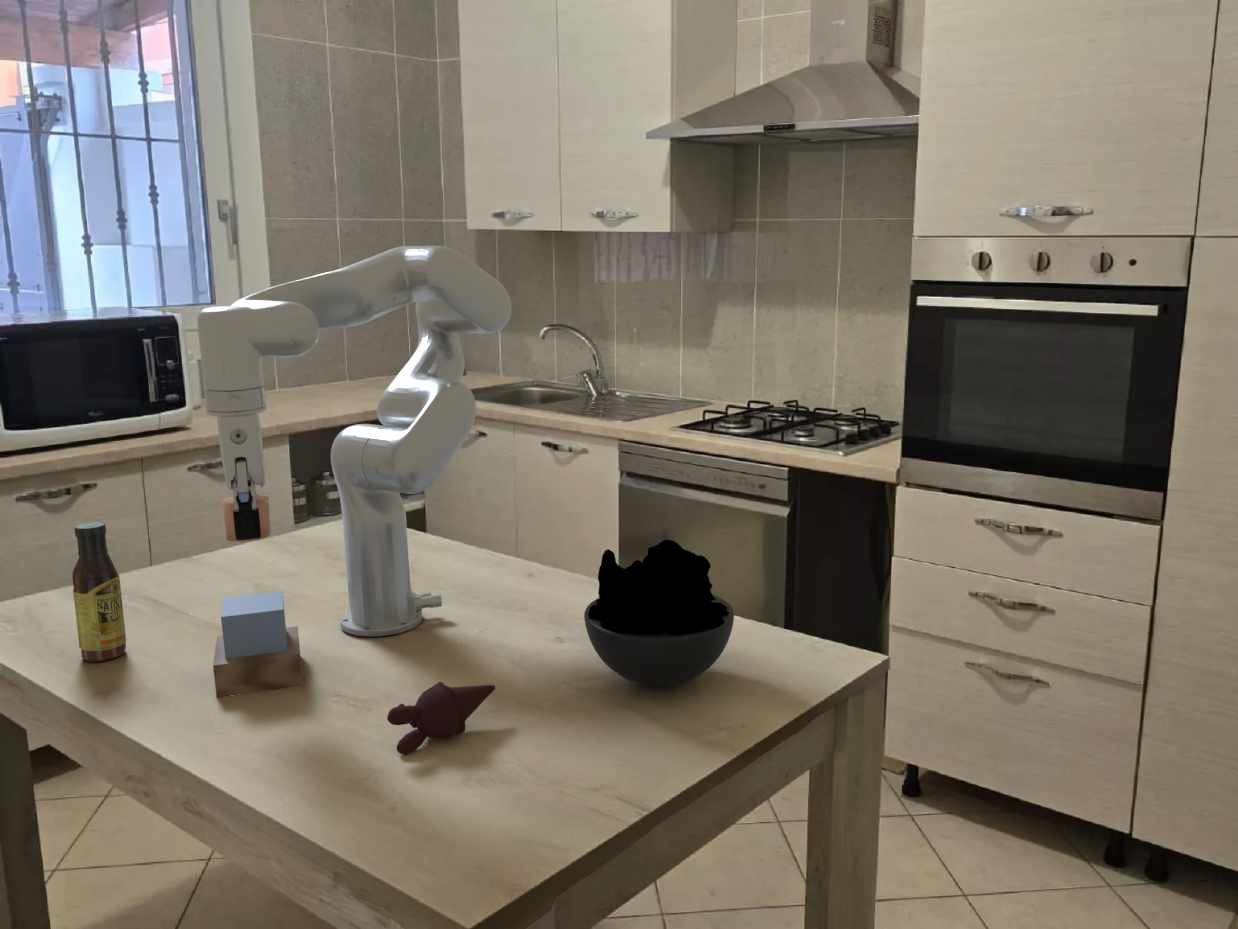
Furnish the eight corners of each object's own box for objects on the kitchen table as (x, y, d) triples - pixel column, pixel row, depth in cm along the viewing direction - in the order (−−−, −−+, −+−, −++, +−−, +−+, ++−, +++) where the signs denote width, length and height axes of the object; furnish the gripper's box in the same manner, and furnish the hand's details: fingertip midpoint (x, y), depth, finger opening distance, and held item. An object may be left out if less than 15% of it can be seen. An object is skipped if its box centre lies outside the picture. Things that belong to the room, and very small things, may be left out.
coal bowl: (748, 661, 152) (749, 533, 148) (711, 722, 134) (711, 578, 130) (615, 645, 159) (613, 522, 155) (563, 701, 141) (558, 564, 137)
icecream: (471, 659, 139) (369, 705, 130) (503, 661, 134) (400, 709, 124) (485, 709, 140) (385, 759, 130) (518, 714, 134) (416, 766, 125)
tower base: (300, 658, 158) (297, 626, 157) (302, 688, 147) (299, 654, 146) (220, 669, 155) (217, 636, 153) (216, 700, 144) (213, 665, 143)
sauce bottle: (109, 665, 156) (91, 532, 151) (71, 662, 157) (52, 531, 152) (138, 647, 162) (121, 520, 157) (101, 645, 163) (84, 518, 159)
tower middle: (286, 630, 155) (282, 590, 154) (287, 650, 148) (283, 609, 146) (227, 638, 153) (222, 597, 151) (225, 659, 145) (220, 617, 144)
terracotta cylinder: (271, 527, 150) (268, 492, 149) (272, 538, 145) (268, 502, 144) (225, 531, 149) (221, 496, 147) (224, 543, 143) (221, 507, 142)
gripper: (266, 409, 136) (279, 546, 140) (264, 389, 152) (275, 513, 156) (203, 413, 133) (217, 553, 137) (207, 393, 149) (220, 519, 153)
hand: (248, 530), depth 147 cm, fingers closed on terracotta cylinder, 6 cm apart
